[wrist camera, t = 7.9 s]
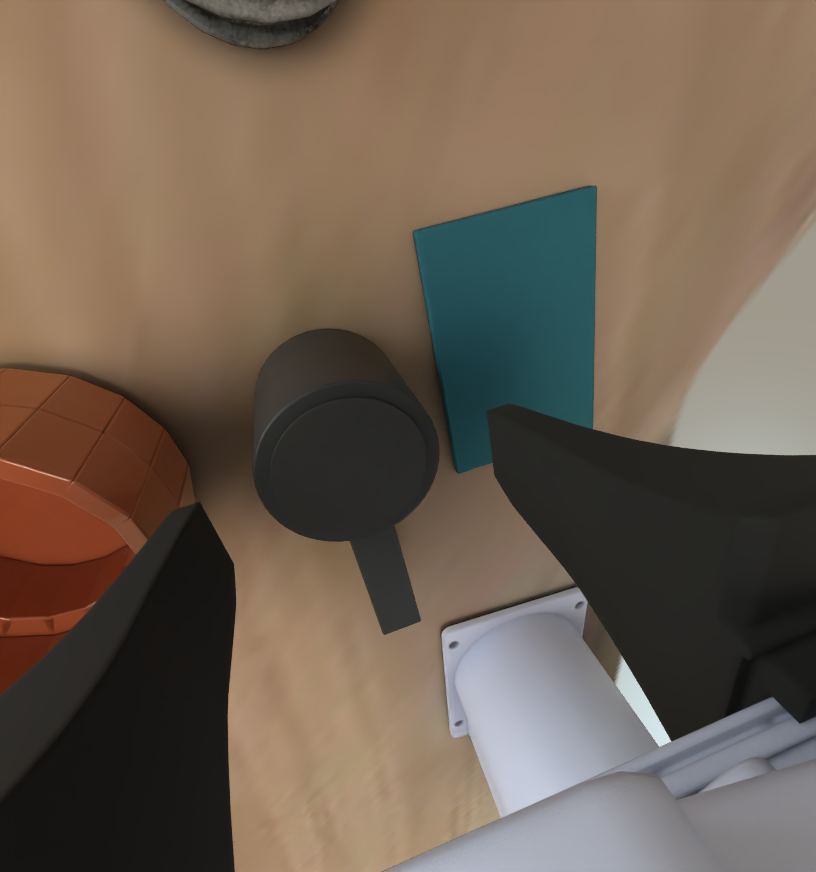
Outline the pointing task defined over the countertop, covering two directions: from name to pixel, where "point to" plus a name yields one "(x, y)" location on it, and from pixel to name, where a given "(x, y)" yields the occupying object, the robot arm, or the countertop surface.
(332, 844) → the countertop surface
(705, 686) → the robot arm
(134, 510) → the bowl
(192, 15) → the grey tall lumpy piece
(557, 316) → the cloth
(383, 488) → the scoop
